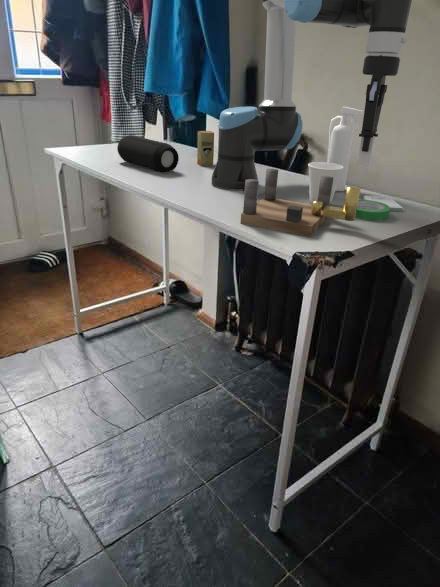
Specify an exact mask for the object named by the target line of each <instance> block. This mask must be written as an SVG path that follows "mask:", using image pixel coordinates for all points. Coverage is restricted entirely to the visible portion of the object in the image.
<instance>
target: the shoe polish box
mask: <svg viewBox="0 0 440 587" xmlns="http://www.w3.org/2000/svg"><path fill="white" fill-rule="evenodd" d="M214 149H215V132H213V131H211V130H197V151H196V152H197V156H196V157H197V159H196V160H197V161H196V162H197V165H198V166H200V167H214V153H215V152H214V151H215V150H214Z"/></svg>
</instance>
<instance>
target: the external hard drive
mask: <svg viewBox="0 0 440 587" xmlns="http://www.w3.org/2000/svg"><path fill="white" fill-rule="evenodd" d="M362 197H363V198H364V199H363V198H362V199H363V200H371V201H377V202H381V203H384V204H386V205H388V206H389V207H390V212H404V211H405V208H404V207H403V206H401V205H400V204H399V203H398V202H397V201H395V200H394V199H393V198H392V197H390V196H386V195H363V196H362Z"/></svg>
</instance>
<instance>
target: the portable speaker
mask: <svg viewBox="0 0 440 587" xmlns="http://www.w3.org/2000/svg"><path fill="white" fill-rule="evenodd" d="M116 147H117V150H116V151H117V153H118V155H119V157H120V158H121V159H122V160H123V161H124V162H126V163H128V164H129V165H130V164H131V165H133V166H138V167H141V168H145V169H148V170H151V171H155V172H158V173H161V174H166V173H170V172H172V171H174V170H175V169H176V168H177V166H178V164H179V161H180V160H179V154H178V151H177V149H175V147H174V146H172V145H171V144H169V143H166V142H162V141H158V140H154V139H149V138H144V137H141V136H137V135H132V134H131V135H126V136H123V137H122V138H121V139H120V140H119V141H118V143H117V146H116Z"/></svg>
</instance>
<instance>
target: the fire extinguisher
mask: <svg viewBox="0 0 440 587" xmlns="http://www.w3.org/2000/svg"><path fill="white" fill-rule="evenodd" d="M339 114H342V115H336V116H335V117H333V118H332V119H331V120H330V124H329V127H328V138H329V139H328V150H327V161H326V162H328V163H335V164H339V165H342V166H343V167H344V168H343V169H342V172H341V175H340V178H339V181H338V184H337V187H336V190H335V192H344V191H345V189H346V185H347V184H346V183H347V178H348V177H347V176H348V170H349V165H350V164H349V163H350V158H351V151H352V146H353V145H352V144H353V138H354V132H357V131H359V130H360V124H359V123H360V122H359V120H358V118H357V117H356V115H364V110H362V109H358V108H353V107H350V106H341V109H340V111H339ZM337 120H340V122H339V124H338V125H335V126H334V127H333V124H334V122H335V121H337ZM349 120H350V122H351V124H352V127H351V126H350V125H349ZM332 128H333V129H332Z"/></svg>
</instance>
